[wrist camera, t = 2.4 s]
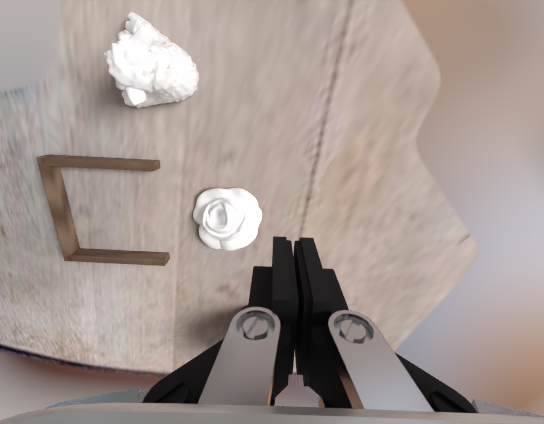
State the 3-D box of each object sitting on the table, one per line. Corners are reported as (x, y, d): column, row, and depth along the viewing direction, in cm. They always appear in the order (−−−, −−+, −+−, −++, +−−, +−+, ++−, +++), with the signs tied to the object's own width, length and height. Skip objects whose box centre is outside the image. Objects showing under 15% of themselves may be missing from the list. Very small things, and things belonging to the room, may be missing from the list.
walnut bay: (49, 154, 34) (36, 157, 32) (159, 160, 34) (152, 163, 32) (74, 253, 40) (64, 260, 38) (169, 258, 40) (164, 265, 38)
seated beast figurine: (132, 14, 29) (41, -49, 17) (209, 37, 29) (169, -10, 18) (128, 104, 32) (49, 100, 21) (197, 122, 33) (157, 128, 21)
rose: (234, 273, 36) (171, 237, 34) (238, 256, 40) (182, 224, 38) (275, 218, 33) (208, 175, 31) (275, 206, 37) (215, 168, 35)
